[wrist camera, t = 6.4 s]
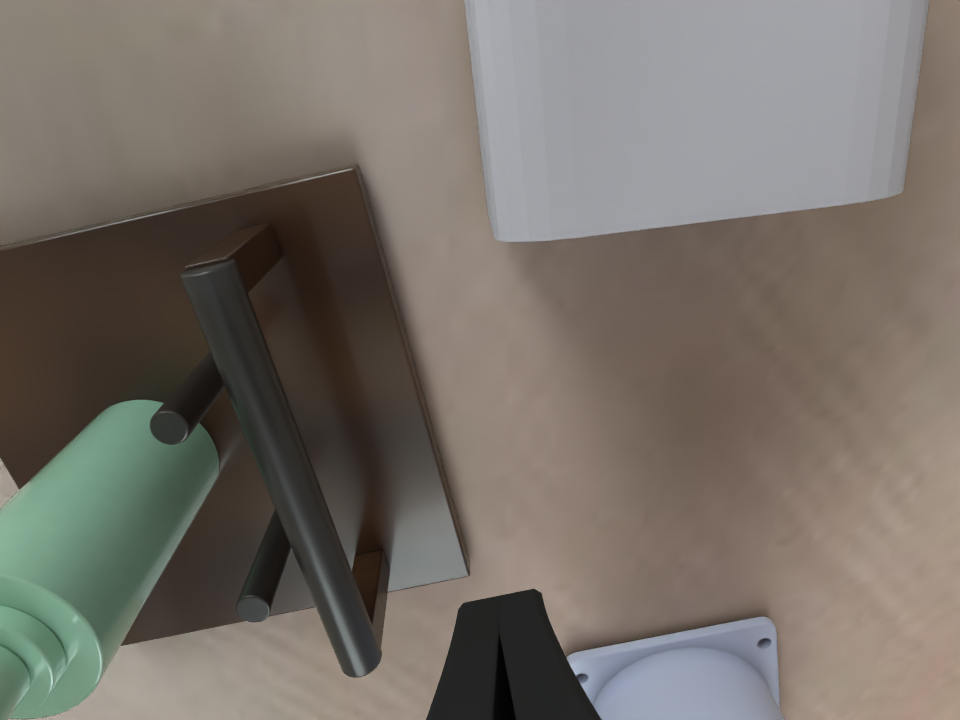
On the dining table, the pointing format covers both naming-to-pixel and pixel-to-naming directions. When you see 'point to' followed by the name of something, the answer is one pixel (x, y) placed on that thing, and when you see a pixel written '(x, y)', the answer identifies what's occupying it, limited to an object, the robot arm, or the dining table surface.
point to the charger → (688, 109)
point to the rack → (245, 399)
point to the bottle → (91, 553)
